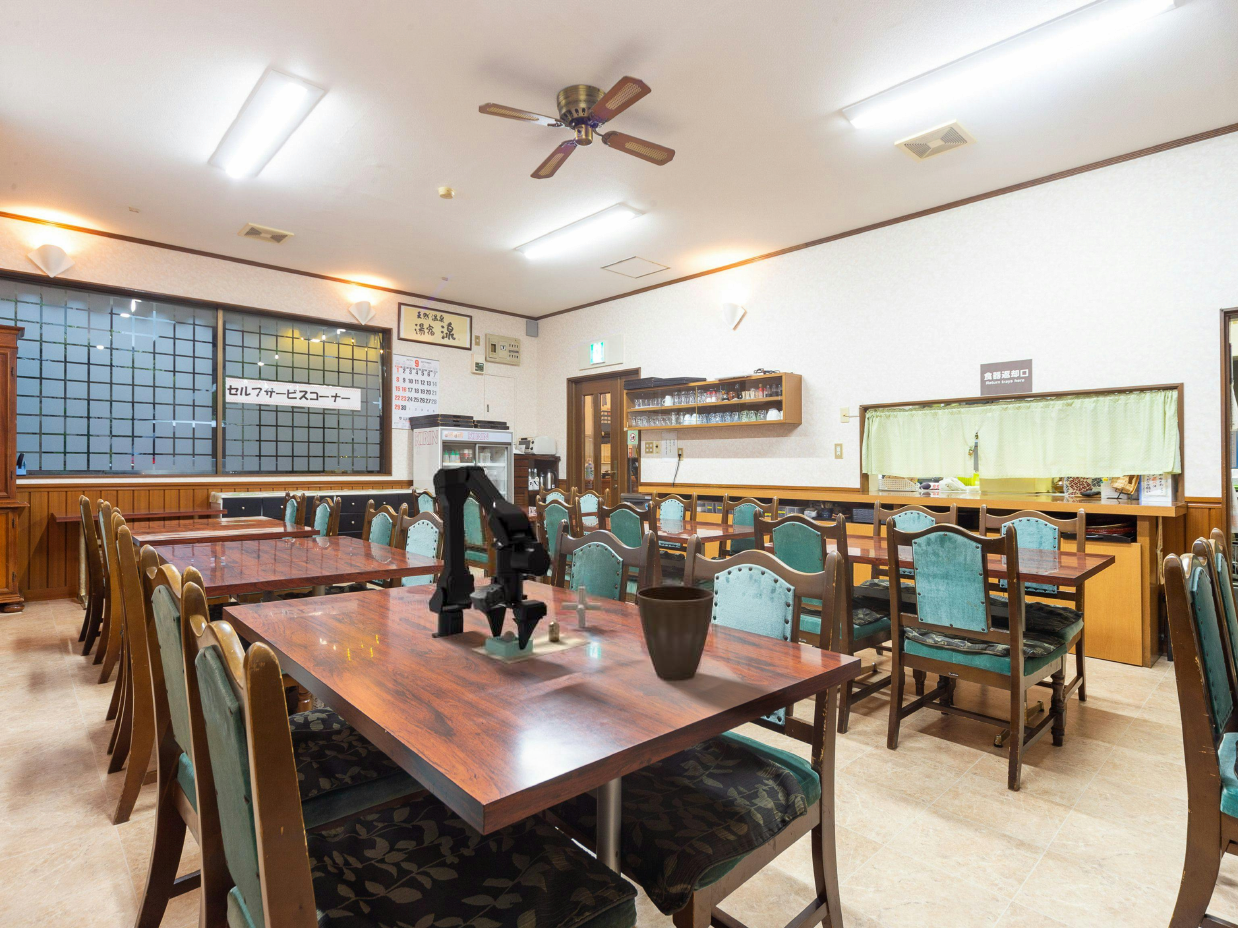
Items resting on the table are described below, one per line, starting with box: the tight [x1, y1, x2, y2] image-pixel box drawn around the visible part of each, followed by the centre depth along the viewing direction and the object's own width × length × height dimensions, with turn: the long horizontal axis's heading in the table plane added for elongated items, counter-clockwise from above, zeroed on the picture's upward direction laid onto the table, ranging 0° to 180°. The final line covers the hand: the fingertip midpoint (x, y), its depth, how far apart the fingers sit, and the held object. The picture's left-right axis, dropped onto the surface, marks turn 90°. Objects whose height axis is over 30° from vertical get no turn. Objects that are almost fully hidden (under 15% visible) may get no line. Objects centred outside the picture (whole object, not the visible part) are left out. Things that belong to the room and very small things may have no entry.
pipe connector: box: [561, 586, 603, 628], centre depth 163 cm, size 10×10×10 cm
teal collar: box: [485, 633, 533, 658], centre depth 135 cm, size 7×7×2 cm
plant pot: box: [636, 585, 715, 682], centre depth 125 cm, size 15×15×16 cm
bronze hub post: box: [548, 621, 560, 642], centre depth 144 cm, size 2×2×4 cm
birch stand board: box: [471, 630, 592, 664], centre depth 139 cm, size 14×22×6 cm, turn 135°
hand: (509, 645), depth 135 cm, fingers open, 9 cm apart
